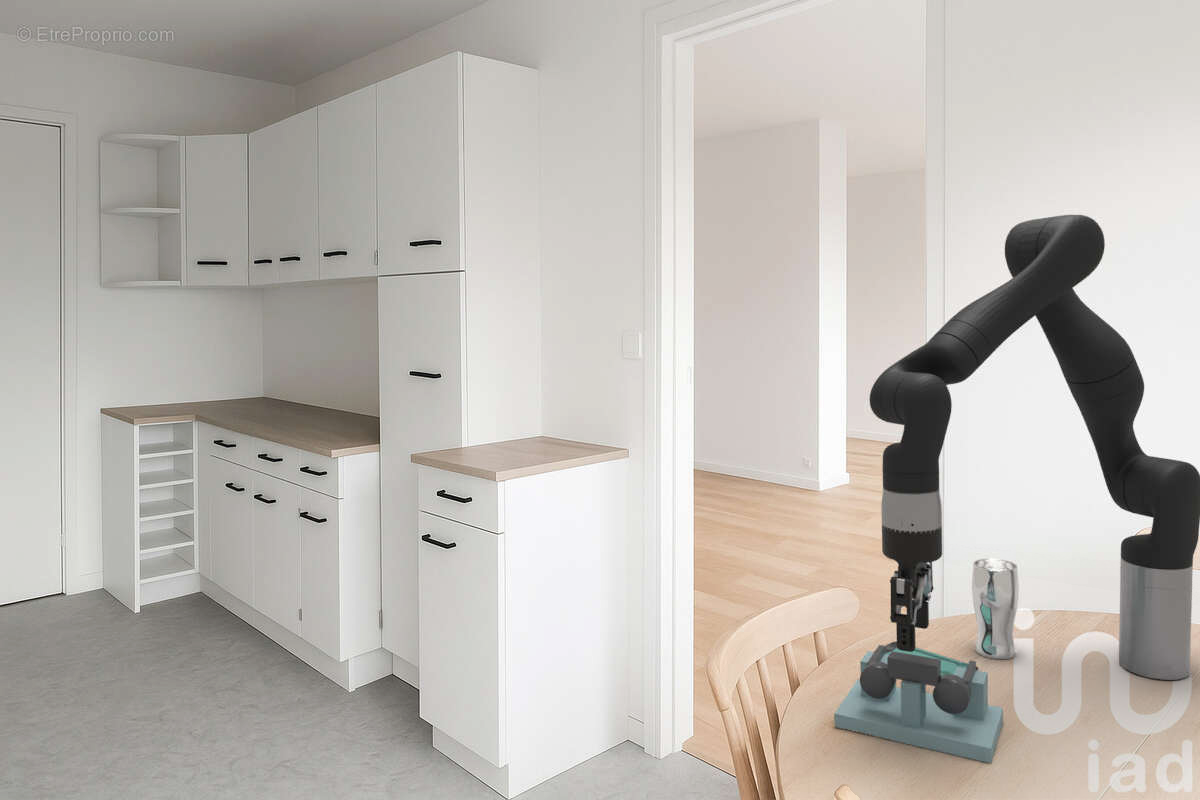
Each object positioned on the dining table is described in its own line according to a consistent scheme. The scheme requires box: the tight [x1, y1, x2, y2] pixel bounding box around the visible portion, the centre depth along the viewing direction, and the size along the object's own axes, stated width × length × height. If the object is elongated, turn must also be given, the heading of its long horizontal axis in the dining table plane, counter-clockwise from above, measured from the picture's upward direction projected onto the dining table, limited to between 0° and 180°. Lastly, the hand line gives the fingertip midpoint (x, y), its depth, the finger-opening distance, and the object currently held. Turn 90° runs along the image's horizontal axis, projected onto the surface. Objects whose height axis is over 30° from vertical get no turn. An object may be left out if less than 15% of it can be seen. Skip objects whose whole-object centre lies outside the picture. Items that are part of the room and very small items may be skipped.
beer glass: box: [971, 558, 1020, 660], centre depth 136 cm, size 7×7×15 cm
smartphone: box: [873, 641, 979, 677], centre depth 134 cm, size 7×1×15 cm
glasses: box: [859, 644, 977, 714], centre depth 115 cm, size 9×14×6 cm
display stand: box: [833, 650, 1004, 764], centre depth 115 cm, size 12×20×8 cm, turn 57°
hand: (913, 638), depth 111 cm, fingers open, 8 cm apart
